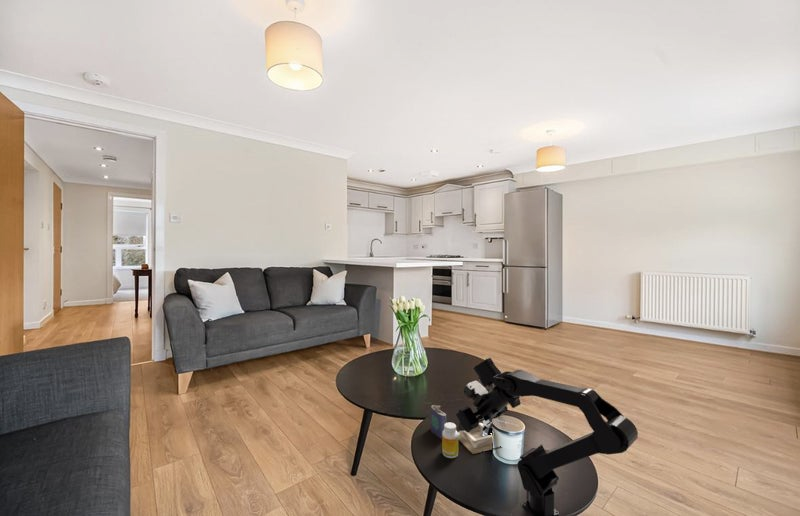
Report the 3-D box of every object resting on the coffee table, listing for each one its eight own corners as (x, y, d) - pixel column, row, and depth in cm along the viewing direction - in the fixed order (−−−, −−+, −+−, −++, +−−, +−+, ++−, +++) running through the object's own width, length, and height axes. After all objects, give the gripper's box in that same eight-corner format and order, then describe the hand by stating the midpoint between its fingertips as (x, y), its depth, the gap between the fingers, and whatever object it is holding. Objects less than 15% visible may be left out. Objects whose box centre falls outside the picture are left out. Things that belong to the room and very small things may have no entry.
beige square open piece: (502, 446, 115) (502, 436, 115) (472, 454, 111) (472, 443, 111) (482, 429, 126) (482, 420, 126) (454, 435, 122) (454, 426, 122)
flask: (447, 439, 120) (447, 409, 120) (441, 441, 119) (440, 411, 119) (434, 427, 128) (434, 399, 128) (428, 428, 127) (428, 401, 127)
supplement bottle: (458, 459, 108) (458, 430, 108) (441, 457, 109) (441, 428, 109) (458, 449, 113) (458, 422, 113) (442, 448, 114) (442, 420, 114)
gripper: (498, 369, 107) (472, 393, 116) (459, 383, 96) (434, 409, 104) (521, 400, 101) (492, 424, 109) (482, 419, 90) (453, 444, 98)
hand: (468, 424), depth 105 cm, fingers open, 9 cm apart
